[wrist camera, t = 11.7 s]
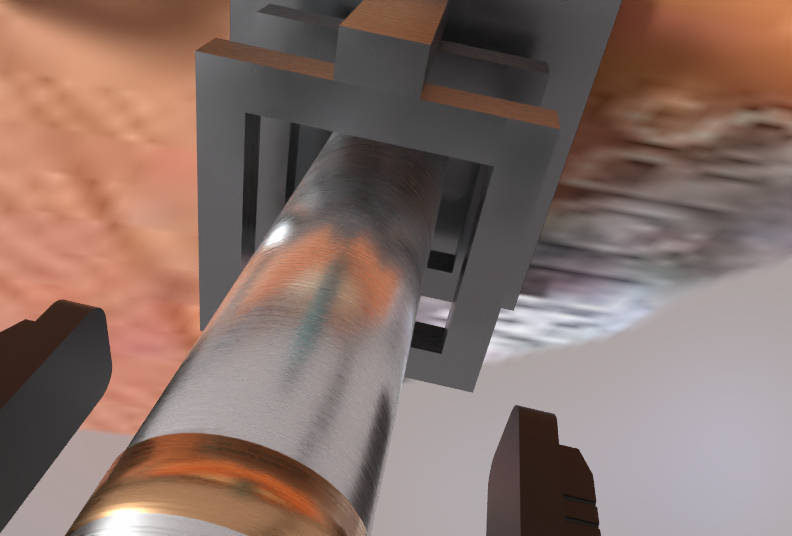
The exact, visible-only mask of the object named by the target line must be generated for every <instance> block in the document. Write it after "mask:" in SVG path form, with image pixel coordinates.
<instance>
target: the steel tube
mask: <svg viewBox="0 0 792 536" xmlns="http://www.w3.org/2000/svg"><path fill="white" fill-rule="evenodd" d="M449 158H450V157H448V156H444V155H439V154H434V153H430V152H425V151H421V150H416V149H411V148H407V147H402V146H398V145H393V144H388V143H384V142H379V141H375V140H370V139H365V138H361V137H356V136H351V135H347V134H342V133H338V132H333V133H332V135H331V136H330V138H329V139H328V141H327V143H326V144H325V146H324V147H323V149H322V150H321V152H320V153H319V155H318V156H317V158H316V159H315V161H314V162H313V164H312V165H311V167H310V169H309V170H308V172H307V173H306V175H305V176H304V178H303V179H302V181H301V182H300V184H299V185H298V187H297V188H296V190H295V191H294V193H293V195H292V196H291V198H290V199H289V201H288V202H287V204H286V205H285V207H284V208H283V210H282V211H281V213H280V214H279V216H278V218H277V219H276V221H275V222H274V224H273V225H272V227H271V228H270V230H269V231H268V233H267V234H266V236H265V237H264V239H263V240H262V242H261V244H260V245H259V247H258V248H257V250H256V251H255V253H254V254H253V256H252V257H251V259H250V260H249V262H248V263H247V265H246V266H245V268H244V270H243V271H242V273H241V274H240V276H239V277H238V279H237V280H236V282H235V283H234V285H233V286H232V288H231V289H230V291H229V292H228V294H227V296H226V297H225V299H224V300H223V302H222V303H221V305H220V306H219V308H218V309H217V311H216V312H215V314H214V315H213V317H212V319H211V320H210V322H209V323H208V325H207V326H206V328H205V329H204V331H203V332H202V334H201V335H200V337H199V338H198V340H197V341H196V343H195V345H194V346H193V348H192V349H191V351H190V352H189V354H188V355H187V357H186V358H185V360H184V361H183V363H182V364H181V366H180V367H179V369H178V371H177V372H176V374H175V375H174V377H173V378H172V380H171V381H170V383H169V384H168V386H167V387H166V389H165V390H164V392H163V394H162V395H161V397H160V398H159V400H158V401H157V403H156V404H155V406H154V407H153V409H152V410H151V412H150V413H149V415H148V416H147V418H146V420H145V421H144V423H143V424H142V426H141V427H140V429H139V430H138V432H137V433H136V435H135V436H134V438H133V439H132V441H131V442H130V444H129V446H128V447H127V449H126V450H125V451H124V452H123V453H122V454H121V455H119V456H118V457H117V459H116V460H115V461H114V463H113V464H112V465H111V467H110V468H109V470H108V471H107V473H106V475H105V476H104V477H103V479H102V480H101V482H100V483H99V485H98V486H97V488H96V489H95V491H94V492H93V494H92V495H91V497H90V499H89V500H88V501H87V503H86V504H85V506H84V508H83V509H82V511H81V512H80V514H79V515H78V517H77V518H76V520H75V521H74V523H73V524H72V526H71V528H70V529H69V530H68V532H67V533H66V535H65V536H370V535H371V531H372V526H373V521H374V517H375V512H376V507H377V502H378V498H379V493H380V488H381V483H382V478H383V474H384V468H385V464H386V459H387V455H388V450H389V445H390V440H391V435H392V430H393V426H394V421H395V416H396V412H397V407H398V402H399V397H400V392H401V388H402V383H403V378H404V373H405V369H406V364H407V359H408V354H409V350H410V345H411V340H412V335H413V330H414V326H415V321H416V316H417V311H418V307H419V302H420V297H421V292H422V287H423V283H424V278H425V273H426V268H427V264H428V259H429V254H430V249H431V244H432V240H433V235H434V230H435V225H436V221H437V216H438V211H439V206H440V201H441V197H442V192H443V187H444V182H445V178H446V173H447V168H448V163H449Z"/></svg>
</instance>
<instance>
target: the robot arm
mask: <svg viewBox="0 0 792 536" xmlns="http://www.w3.org/2000/svg"><path fill="white" fill-rule="evenodd" d="M111 373H112V360H111V353H110V345H109V338H108V330H107V323H106V316H105V313H104V311H103V310H102V309H101V308H98V307H93V306H89V305H85V304H80V303H76V302H72V301H67V300H58V301H56V302H55V303H54V304H52V305H51V306H50V307H49V308H48V309H47V310H46V311H45V312H44V313H43V314H42V315H41V316H40V317H39V318H38V319H37V320H36V321H31V320H26V319H25V320H23V321H21V322H19V323H17V324H15V325H13V326H12V327H10V328H8V329H6V330H4V331H2V332H0V533H1V531H2V530H3V529H4V527H5V526H6V525H7V523H8V522H9V521H10V519H11V518H12V517H13V515H14V514H15V513H16V511H17V510H18V509H19V507H20V506H21V505H22V503H23V502H24V501H25V499H26V498H27V497H28V495H29V494H30V492H31V491H32V490H33V489H34V487H35V486H36V485H37V483H38V482H39V481H40V479H41V478H42V477H43V475H44V474H45V472H46V471H47V470H48V469H49V467H50V466H51V464H52V463H53V462H54V461H55V459H56V458H57V457H58V455H59V454H60V452H61V451H62V450H63V448H64V447H65V446H66V445H67V443H68V441H69V440H70V439H71V438H72V436H73V435H74V434H75V432H76V431H77V430H78V428H79V427H80V426H81V424H82V423H83V422H84V420H85V419H86V418H87V416H88V415H89V414H90V412H91V411H92V410H93V408H94V407H95V406H96V404H97V403H98V402H99V400H100V399H101V398H102V396H103V395H104V393H105V391H106V389H107V387H108V384H109V381H110V378H111ZM595 504H596V495H595V488H594V480H593V474H592V472H591V471H590V469H589V467H588V465H587V463H586V462H585V460H584V458H583V456H582V454H581V453H580V451H579V449H577V448H572V447H568V446H564V445H559V439H558V426H557V418H556V416H555V414H552V413H548V412H544V411H539V410H535V409H531V408H526V407H522V406H517V405H516V406H514V408H513V410H512V412H511V414H510V417H509V419H508V422H507V424H506V427H505V430H504V432H503V435H502V437H501V440H500V442H499V445H498V447H497V450H496V452H495V455H494V458H493V462H492V465H491V470H490V476H489V483H488V502H487V531H486V532H487V533H486V536H601V533H600V529H598V526H599V518H598V511H597V507H596V505H595Z"/></svg>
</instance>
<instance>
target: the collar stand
mask: <svg viewBox="0 0 792 536" xmlns="http://www.w3.org/2000/svg"><path fill="white" fill-rule="evenodd" d="M621 2H622V0H230V41H227V40H223V39H218V38H215V39H213V40H212V41H210V42H209V43H207V44H205V45H204V46H202V47H201V48H199V49H198V50H196V51H195V59H196V116H197V174H198V232H199V289H200V331H204V329H205V328H206V326H207V325H208V323H209V322H210V320H211V319H212V317H213V315H214V314H215V312H216V311H217V309H218V308H219V306H220V305H221V303H222V302H223V300H224V299H225V297H226V296H227V294H228V292H229V291H230V289H231V288H232V286H233V285H234V283H235V282H236V280H237V279H238V277H239V276H240V274H241V273H242V271H243V270H244V268H245V266H246V265H247V263H248V262H249V260H250V259H251V257H252V256H253V254H254V253H255V251H256V250H257V248H258V247H259V245H260V244H261V242H262V240H263V239H264V237H265V236H266V234H267V233H268V231H269V230H270V228H271V227H272V225H273V224H274V222H275V221H276V219H277V218H278V216H279V214H280V213H281V211H282V210H283V208H284V207H285V205H286V204H287V202H288V201H289V199H290V198H291V196H292V195H293V193H294V191H295V190H296V188H297V187H298V185H299V184H300V182H301V181H302V179H303V178H304V176H305V175H306V173H307V172H308V170H309V169H310V167H311V165H312V164H313V162H314V161H315V159H316V158H317V156H318V155H319V153H320V152H321V150H322V149H323V147H324V146H325V144H326V143H327V141H328V139H329V138H330V136H331V135H332V133H333V132H338V133H342V134H347V135H351V136H356V137H361V138H365V139H370V140H375V141H379V142H384V143H388V144H393V145H398V146H402V147H407V148H411V149H416V150H421V151H425V152H430V153H434V154H439V155H444V156H448V157H450V158H449V163H448V168H447V173H446V178H445V182H444V187H443V192H442V197H441V201H440V206H439V211H438V216H437V221H436V225H435V230H434V235H433V240H432V244H431V249H430V254H429V259H428V264H427V268H426V273H425V278H424V283H423V287H422V292H421V295H422V296H426V297H431V298H435V299H440V300H444V301H449V302H452V304H451V308H450V312H449V315H448V319H447V323H446V326H445V328H442V327H438V326H434V325H429V324H425V323H420V322H416V321H415V326H414V330H413V335H412V340H411V345H410V350H409V354H408V359H407V364H406V369H405V373H404V377H407V378H411V379H416V380H420V381H424V382H429V383H433V384H438V385H442V386H446V387H451V388H456V389H460V390H464V391H468V392H473V390H474V387H475V384H476V381H477V378H478V375H479V372H480V369H481V366H482V363H483V360H484V357H485V354H486V351H487V348H488V345H489V342H490V339H491V336H492V333H493V330H494V327H495V324H496V321H497V318H498V315H499V312H500V309H501V308H504V309H508V310H513V311H514V308H515V305H516V302H517V299H518V297H519V294H520V291H521V288H522V285H523V282H524V279H525V277H526V274H527V271H528V268H529V265H530V262H531V259H532V257H533V254H534V251H535V248H536V245H537V242H538V239H539V237H540V234H541V231H542V228H543V225H544V222H545V219H546V217H547V214H548V211H549V208H550V205H551V202H552V199H553V197H554V194H555V191H556V188H557V185H558V182H559V179H560V177H561V174H562V171H563V168H564V165H565V162H566V159H567V157H568V154H569V151H570V148H571V145H572V142H573V139H574V137H575V134H576V131H577V128H578V125H579V122H580V119H581V117H582V114H583V111H584V108H585V105H586V102H587V99H588V97H589V94H590V91H591V88H592V85H593V82H594V79H595V77H596V74H597V71H598V68H599V65H600V62H601V59H602V57H603V54H604V51H605V48H606V45H607V42H608V39H609V37H610V34H611V31H612V28H613V25H614V22H615V19H616V17H617V14H618V11H619V8H620V5H621Z"/></svg>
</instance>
